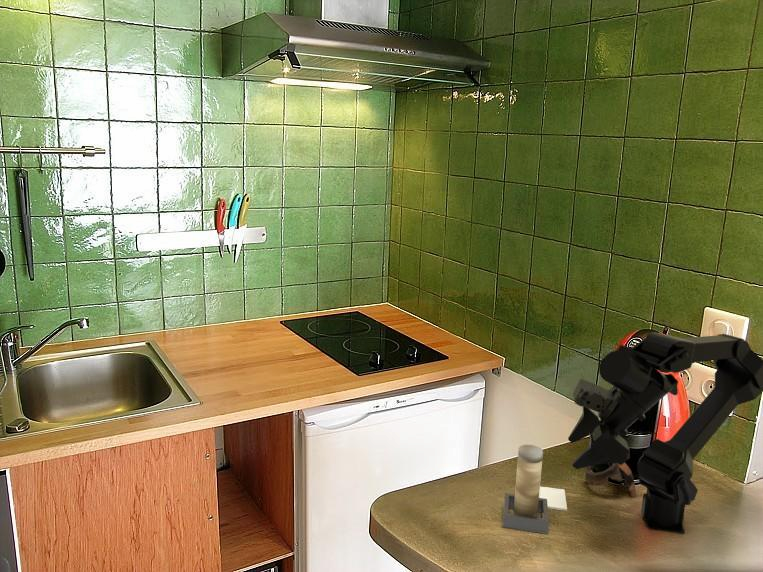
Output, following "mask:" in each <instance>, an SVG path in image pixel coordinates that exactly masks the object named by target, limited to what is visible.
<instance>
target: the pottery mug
mask: <svg viewBox="0 0 763 572" xmlns="http://www.w3.org/2000/svg"><path fill="white" fill-rule="evenodd" d="M607 464H608V466H609V467H608V468H607V469H605V470H603V471H599V472H592V471H591V469H592V468H593V467H595V465H593V466H588V467H584V472H585V476H584V480H585V482H587V484H590V485H592V486H593V485H594V486H604V487H606V488H609V479H611V480H613V481H618V482H623V480H624V485H625V486H627V487H629V489H628V491H629V492H630V497H631V498H632V499H633V498H634V497H635V496H636V494H637V489H636V483H635V478H634V476H633V473H632V470H631V468H630V467H629V465H627V463H626V462H625V463H623V464H622V465H620V464H618V463H616V464H615V463H613V462H611V463H607Z"/></svg>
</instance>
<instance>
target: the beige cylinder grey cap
mask: <svg viewBox="0 0 763 572" xmlns="http://www.w3.org/2000/svg"><path fill="white" fill-rule="evenodd" d="M543 456H544V451H543V448H541V447H539V446H537V445H534V444H522V445H520V446H519V447H518V451H517V463H516V464H517V465H516V474H515V476H516V477H515V487H514V488H515V489H514V490H515V491H514V494H515V500H514V508H513V513H512V514H517V515H524V516H531V517H538V514H539V512H538V503H539V491H540V486H541V480H542V469H543V468H542V465H543Z"/></svg>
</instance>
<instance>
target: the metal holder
mask: <svg viewBox="0 0 763 572" xmlns="http://www.w3.org/2000/svg"><path fill="white" fill-rule="evenodd" d="M514 500H515V493H504V500H503V501H504V502H503V515H502V516H503V520H502V528H503V529H504V528H506V529H512V530H519V531H525V532H531V533H539V534H546V535H548V533H549V532H548V531H549V523H550V521H549V508H548V505H547V499H544V498H539V503H538V513H541V517H538V516H537V517H531V516H524V515H517V514H513V513H509V509H514Z"/></svg>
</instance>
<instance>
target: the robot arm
mask: <svg viewBox="0 0 763 572" xmlns="http://www.w3.org/2000/svg"><path fill="white" fill-rule="evenodd" d="M711 361H712V362H713V365H714V367H715V369H716V371H715V372H714V387H713V389H711V391H710V392H709V394H707V396H706V397H705V398H704V399H703V400H702V402H701V403H700V404H699V405H698V406H697V407H696V409H695V410H694V411H693V412H692V414H691V415H690V416H689V417H688V418H687V419H686V420H685V421H684V423H683V424H682V425H681V426H680V428H679V429H678V430H676V432H675V434H674V435H673V436H672V437H671V438H670V439H669V440H667V441H662V440H660V439H659V438H656V439H654V440H653V441H652V442H651V443H650V444H649V446H648V447H647V449H645V450H644V451H642V452H641V453H642V456H640V457H639V459H638V461H637V464H636V469H637V476H638V481H639V485H641V486H642V487H645V488H646V493H643V494H642V501H641V509H640V514H641V516H642V519H643V520H644V523H645V524H646V527H647V528H648V529H650V530H657V531H663V532H671V533H679V534H685V533H686V530H685V527H684V525H683V524H684V519H685V518H684V517H685V510H686V506H689V505H691V503H692V502H693V501H695V499H696V497H697V494H698V488H697V487H696V485H695V484H694V482H692V480H691V479H692V477H693V473H694V459H695V458H696V456H697V455H698V454H699V453H700V452H701V450H702V449H703V448H704V447H705V446H706V444H707V443H708V442H709V441H710V439H712V437H713V436H714V434H715V433H716V432H717V431H718V429H719V428H720V427H721V426H722V425H723V423H724V422H725V421H726V420H727V419H728V418H729V416H730V415H731V414H732V413H733V411H734V410H736V408H737V407H738V406H739V405H742V404H745V403H748V402H750V401H754V400H755V399H757V398H758V397H759V396H760V395H761V394H762V393H763V359H762V358H761V357H760V356H759V355H758V354H757V353H756V352H755V351H754V350H752V348H751V347H750V344H749V342H748V341H746V340H745V339H744V338H743V337H742V338H741V337H737V336H734V335H729V334H726V333H722V334H720V333H719V334H716V335H708V336H707V335H705V336H693V337H678V336H675V335H669V334H667V333H666V334H664V333H659V332H655V331H654V332H650V333H648V334H646V336H645V338H643V339H642V340H641V341H639V342H638V343H636V344H635V345H633V346H632V347H629V346H626V345H624V344H620V345H619V347H618V350H614V351H613V350H612V351H611V352H609V353H607V355H605V356H604V357H603V358H601V361H600V362H599V367H598V368H599V369H598V371H599V375H600V377H601V379H602V380H603V381H605V382H607V383H608V384H610V385H612V387H611V388H610V389H606V388H605V387H602V386H600V385H598V384H595V383H593V382H590V381H588V380H586V379H582V378H579V381H578V382H577V384H576V386H575V388H574V390H573V392H572V396H573V402H574V403H575V404H576V405H577V406H580V407H582V408H581V409H582V414H581V416H580V418H579V420H578V421H577V423H576V425H575V426H574V428H573V429H572V431H571V433H570V434H569V436H568V438H567V440H568V441H569V442H570V443H571V444H572V443H573V444H574V443H575V442H579V441H580V440H583V439H585V438H586V437H588V436H589V443H588V444H587V446H586V447H585V448H584V449H583V450H582V451H581V453H580V454H578V456H577V457H576V458H575V460H574V461H573V463H572V464H571V466H572V467H573V468H574V469H576V470H578V469H579V470H580V469H583V468H585V467H589V466H593V465H594V466H597V465H603V464H604V465H605V464H608V463H611V462H613V463H615V464H616V463H618V464H620V465H622V464H623V463H626V462H627V461H628V460H629V459H631V452H630V447H629V445H628V442H627V440H626V439H624V438H625V437H626V436H627V435H628V434H629V432H628V428H629V427H630V426H632V424H634V423H635V422H636V421H637V420H638V421H639V422H641V423H642V422H643V421H644V420H646V419H647V418H646V415H645V414H646V413H647V412H648V411H649V410H651V408H652V407H654V405H656V404H657V403H659V402H660V401H661V400H662V399H663V398H664V397H665V396H666V395H667V394H669V393H670V394H671V395H673V396H677V395H678V393H679V392H678V391H679V390H678V384H679V381H678V380H677V379H676V376H674V375H673V373H674V374H677V373H681V372H683V371H686V370H690V369H691V367H692V366H693V364H696V363H701V362H703V363H704V362H711ZM594 466H593V467H594Z"/></svg>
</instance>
